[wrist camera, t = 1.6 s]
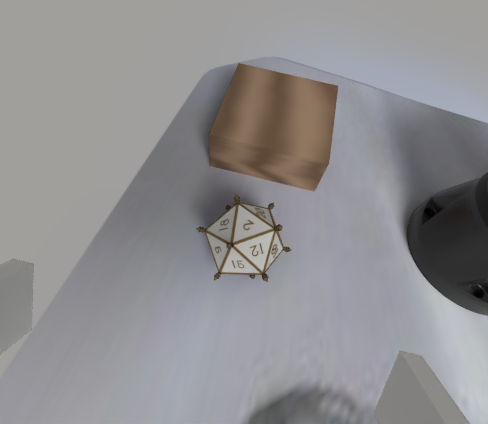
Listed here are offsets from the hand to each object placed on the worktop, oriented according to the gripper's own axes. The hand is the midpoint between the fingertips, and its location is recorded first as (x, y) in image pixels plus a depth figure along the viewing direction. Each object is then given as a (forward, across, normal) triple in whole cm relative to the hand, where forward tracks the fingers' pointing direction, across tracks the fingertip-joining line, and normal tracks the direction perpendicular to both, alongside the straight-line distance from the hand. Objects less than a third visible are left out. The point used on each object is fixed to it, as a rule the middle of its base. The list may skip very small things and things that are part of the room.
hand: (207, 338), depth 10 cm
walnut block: (+34, +1, +7) cm, 35 cm away
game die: (+22, +1, -6) cm, 23 cm away
